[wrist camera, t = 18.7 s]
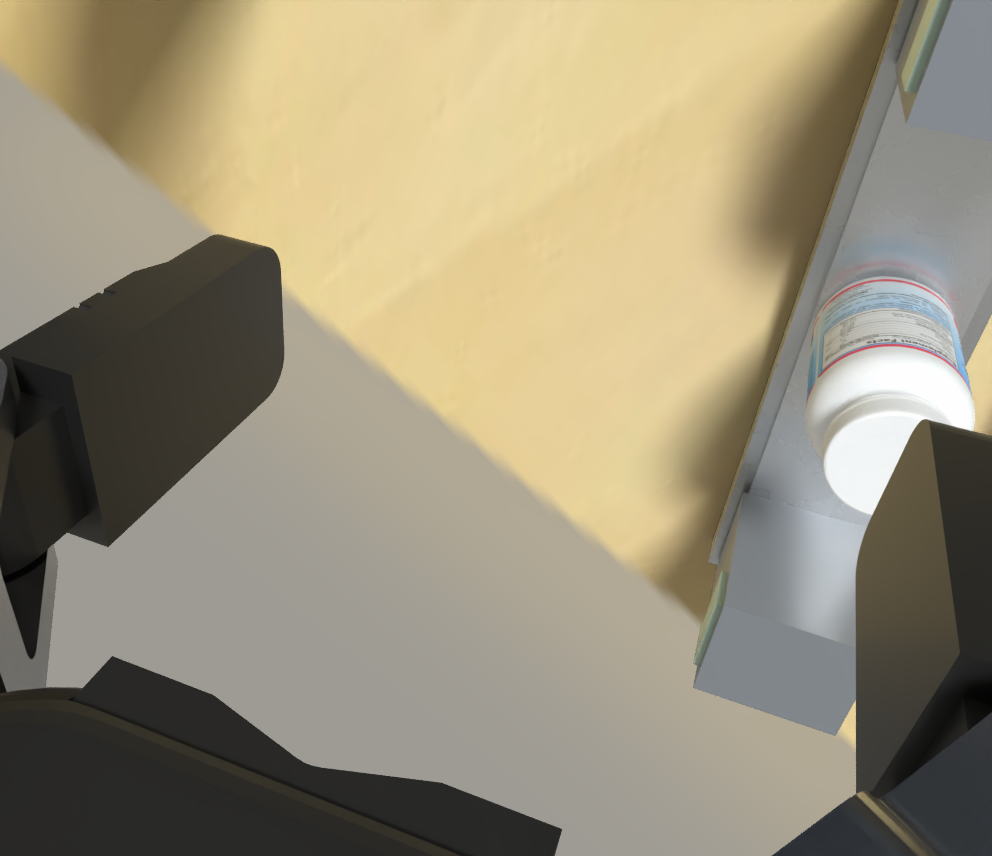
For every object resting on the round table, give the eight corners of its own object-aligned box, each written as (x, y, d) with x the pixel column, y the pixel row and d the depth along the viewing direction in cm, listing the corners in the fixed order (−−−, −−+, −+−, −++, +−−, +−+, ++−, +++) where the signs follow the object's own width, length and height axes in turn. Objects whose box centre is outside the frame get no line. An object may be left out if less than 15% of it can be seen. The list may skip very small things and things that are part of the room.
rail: (712, 541, 53) (707, 567, 51) (937, -114, 33) (943, -111, 31) (847, 581, 51) (846, 611, 49) (1170, -82, 31) (1191, -77, 29)
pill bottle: (911, 407, 41) (928, 559, 33) (789, 360, 42) (773, 495, 33) (985, 300, 38) (1025, 438, 29) (850, 250, 39) (849, 370, 30)
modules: (710, 568, 51) (687, 685, 44) (949, -111, 31) (977, -99, 24) (837, 608, 49) (835, 735, 42) (1174, -79, 29) (1277, -57, 22)
